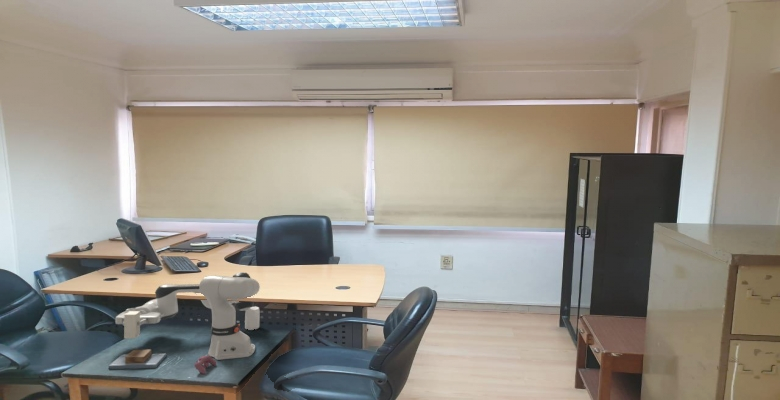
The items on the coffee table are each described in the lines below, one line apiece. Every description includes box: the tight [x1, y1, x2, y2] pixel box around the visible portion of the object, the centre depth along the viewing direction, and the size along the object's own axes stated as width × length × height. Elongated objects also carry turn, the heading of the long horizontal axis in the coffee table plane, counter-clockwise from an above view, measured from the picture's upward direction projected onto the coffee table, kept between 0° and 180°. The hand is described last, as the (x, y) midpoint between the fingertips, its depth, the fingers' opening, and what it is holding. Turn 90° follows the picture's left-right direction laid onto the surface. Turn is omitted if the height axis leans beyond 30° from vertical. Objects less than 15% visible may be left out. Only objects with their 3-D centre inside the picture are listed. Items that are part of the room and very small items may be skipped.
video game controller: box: [194, 354, 217, 375], centre depth 189 cm, size 10×5×7 cm, turn 171°
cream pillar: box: [123, 311, 141, 340], centre depth 202 cm, size 5×5×12 cm
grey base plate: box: [108, 348, 167, 370], centre depth 192 cm, size 20×12×4 cm, turn 98°
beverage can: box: [244, 305, 261, 331], centre depth 240 cm, size 8×8×12 cm
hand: (131, 324), depth 201 cm, fingers closed on cream pillar, 5 cm apart
